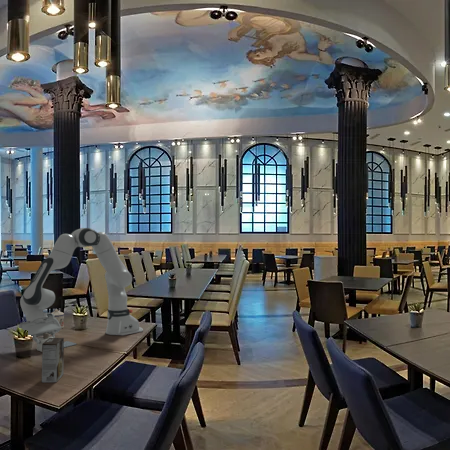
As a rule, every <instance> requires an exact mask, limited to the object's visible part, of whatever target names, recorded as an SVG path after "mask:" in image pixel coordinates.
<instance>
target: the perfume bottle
mask: <svg viewBox="0 0 450 450" xmlns="http://www.w3.org/2000/svg"><path fill="white" fill-rule="evenodd" d="M37 338H38V339H40V341H41V343H40V344H37V343H36V351H39V352H41V353H42V344H43V343H44V342H45V341H46V340H47V339H49V338H54V337H52V335H51V336H50V334H49V333H43V336H41V337H37Z"/></svg>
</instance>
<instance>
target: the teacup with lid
mask: <svg viewBox="0 0 450 450" xmlns="http://www.w3.org/2000/svg"><path fill="white" fill-rule="evenodd" d="M51 313H52V314H54V315H55V317H54V318H56V319H57V320H58V322H59V323H60V325H61V329H60V330H62V329H64V325H65V322H64V321H65V319H64V318H65V313H64V312H62V311H59V309H55V310H54V311H52V312H51Z"/></svg>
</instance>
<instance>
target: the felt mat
mask: <svg viewBox="0 0 450 450" xmlns="http://www.w3.org/2000/svg"><path fill="white" fill-rule="evenodd" d="M77 345H78V343H76V342H72V341H69V340H66V341H65V340H64V348H68V347H72V346H77Z"/></svg>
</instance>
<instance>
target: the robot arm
mask: <svg viewBox="0 0 450 450" xmlns="http://www.w3.org/2000/svg"><path fill="white" fill-rule="evenodd" d="M87 247H91V248H93V251H94V252H95V255H96V256H97V259H98V261H99V262H100V263H99V264H100V265H101V266H102V267H103V269H104V270H105V271H106V272H105V273H104V279H105V283H106V289H107V294H108V295H107V297H108V308H107V315H106V316H107V324H106V329H105V334H106V335H111V336H126V335H127V336H128V335H130V334H131V335H132V334H136V333H142V332H143V331H144V329H143V327H141V326H140V322H139V320H138V319H137V318H135V317H134V316H133V315H131V314H133V312H134V311H133V309H129V308H128V294H127V291H126V289H125V288H127V287H129V286H130V285H131V284H132V282H133V275H132V273H131V272H130V271H129V270H128V268H127V267H126V266H125V264H124V263H123V261H122V259H121V258H120V257H119V255H118V253H117V251H116V249H115V247H114V244H113V242H112V241H111V239H110V237H109V236H108V235H107V234H106V233H105V231H103V232H102V231H98V232H97V231H96V230H95V229H94V228H91V227H81V228H77V229H74V230H73V231H72V232H70V233H62V234H60V235H59V236H58V238H57V239H56V241H55V243H54V245H53V247H52V250H51V252H50V253H49V255H48V256H47V257H46V258H44V259H43V260H42V262H41V263H40V264H39V266H38V268H37V270H36V272H35V274H34V275H33V278H32V279H31V281H30V283H29V284H28V285H27V286H26V288H25V289H24V290H23V292H22V296H21V298H20V299H19V303H20V304H19V305H20V307H21V311H22V312H23V315H25V320H26V321H23V322H20V323H19V324H18V329H19V328H22V329H23V330H28V335H31V336H33V339H32V340H33V341H34V342H35V343H36V345H37V344H40V343H41V341H40V339H38V338H40V337H43V333H49V335H51V337H54V338H56V336H55V334H56V333H59V332H60V331H61V330H62V329H61V325H60V323H59V322H58V320H57V319H56V318H54V317H55V315H54V314H52V312H44V310H46V309H48V308H50V307H51V306H53V304H55V302H56V294H55V292H54V291H53V290H50V289H47V288H44V287H43V285H44V283H45V282H46V279H48V276H49V275H50V273H52V271H55V270H61V269H64V268H66V267H67V266H68V265H69V264H70V262H71V260H72V256H74V255H73V254H74V253H75V250H76V249H77V248H87Z"/></svg>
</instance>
